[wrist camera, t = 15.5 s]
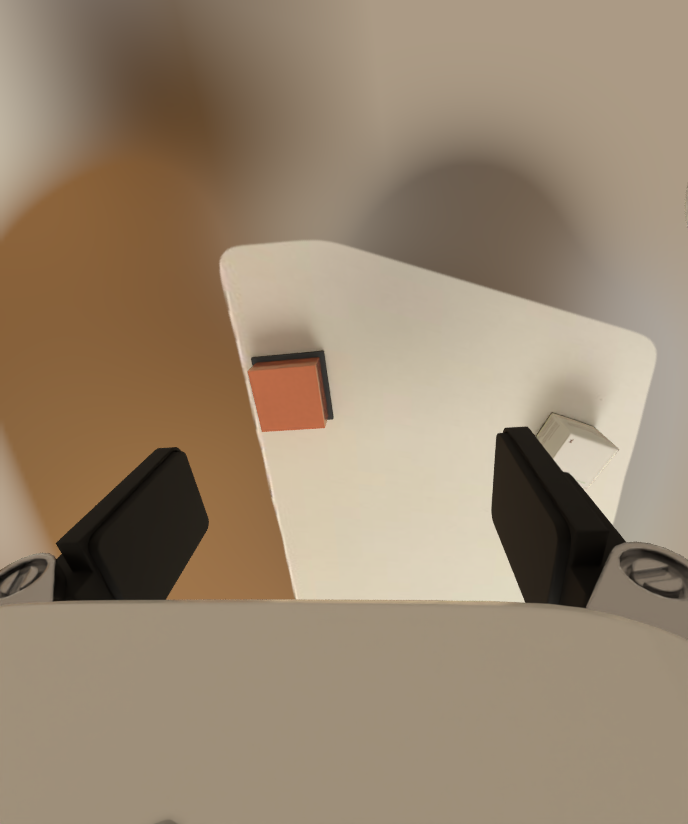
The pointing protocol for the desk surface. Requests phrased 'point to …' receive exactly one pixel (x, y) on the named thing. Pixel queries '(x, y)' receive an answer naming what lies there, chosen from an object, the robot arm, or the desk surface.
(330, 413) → the mat
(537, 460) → the robot arm
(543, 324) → the desk surface
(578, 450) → the small box
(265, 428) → the orange flat block
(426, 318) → the desk surface
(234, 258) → the desk surface
